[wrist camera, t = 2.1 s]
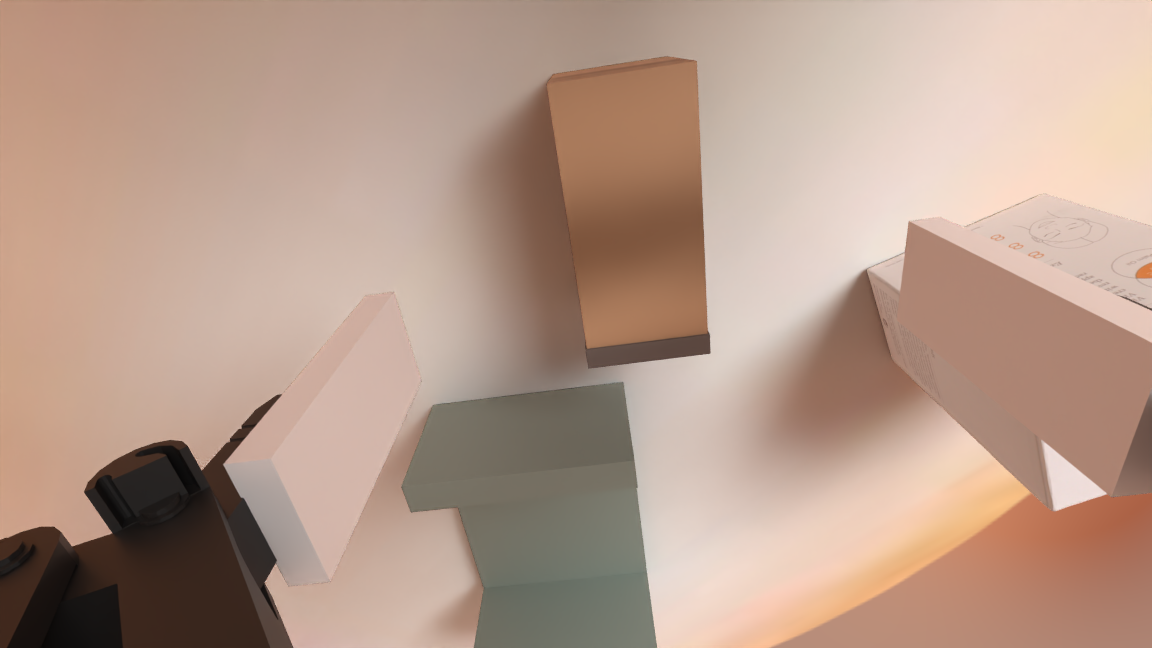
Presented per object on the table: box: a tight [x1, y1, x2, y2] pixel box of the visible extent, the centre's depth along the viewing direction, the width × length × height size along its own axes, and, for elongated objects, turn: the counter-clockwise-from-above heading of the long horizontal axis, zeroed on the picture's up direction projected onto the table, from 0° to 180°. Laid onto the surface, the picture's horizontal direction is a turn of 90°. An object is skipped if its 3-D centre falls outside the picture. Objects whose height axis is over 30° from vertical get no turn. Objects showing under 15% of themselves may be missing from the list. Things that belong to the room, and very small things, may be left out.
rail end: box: [546, 56, 710, 369], centre depth 21 cm, size 10×5×6 cm, turn 8°
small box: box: [867, 194, 1152, 511], centre depth 21 cm, size 8×6×10 cm
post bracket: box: [401, 382, 657, 648], centre depth 29 cm, size 14×10×6 cm
